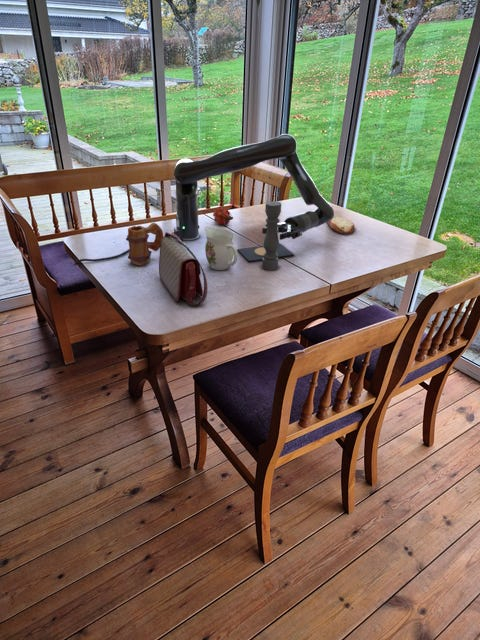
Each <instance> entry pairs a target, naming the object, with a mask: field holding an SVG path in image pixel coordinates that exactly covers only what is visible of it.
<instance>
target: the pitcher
mask: <svg viewBox="0 0 480 640" xmlns="http://www.w3.org/2000/svg"><path fill="white" fill-rule="evenodd" d="M204 229H205V231H206V232H205V238H206V242H205V249H204V252H205V257H206V260H207V263H208V265H209V267H211V269H213V270H216V271H225V270H227V269H229V267H233V266H235V265H236V264H237V263H238V257H239V252H238V251H237V249H238V248H236V245H234V241H233V239H234V233H233V232H232V231H231V230H227V229H225V228H216V227H211V226H206V227H204Z"/></svg>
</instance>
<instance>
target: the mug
mask: <svg viewBox="0 0 480 640" xmlns="http://www.w3.org/2000/svg"><path fill="white" fill-rule="evenodd" d="M150 234H152V235H155V237H154V241H152V242H153V243H148V242H149V241H148V240H149V237H150ZM162 237H164V231H163V229H162V227H161V226H160V225H159V224H158V223H156V222H151V223H150V224H149V225H148V226H146V227H145V226H142V225H137V226H136V225H132V226H131V227H130V226H129V227H128V228H127V235H126V237H125V241H127V242H128V250H129V249H130V251H129V252H128V253H129V254H128V256H127V259H128V260H130V263H131V264H133V265H137V266H144V265H146V264H148V263H149V262H150V261H151V257H152V251H154V252H158V251H159V250H160V243H161V238H162ZM151 250H152V251H151Z"/></svg>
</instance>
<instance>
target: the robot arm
mask: <svg viewBox="0 0 480 640" xmlns="http://www.w3.org/2000/svg"><path fill="white" fill-rule="evenodd" d="M297 147H298V143H297V140H296V138H295V137H294V136H293V135H291V134H288V133H283V134H280V135H277V136H275V137H272V138H270V139H269V138H268V139H267V140H264V141H261V142H254V143H250V144H249V143H248V144H244V145H240V146H234V147H231V148H227V149H224V150H222V151H219V152H217V153H215V154H213V155H211V156H209V157H207V158H204V159H199V160H194V161H193V160H192V159H190V158H182V159H180V160H178V162H177V163H176V164H175V166H174V169H173V178H174V180H175V205H176V206H175V208H176V215H175V225H176V226H175V227H173V231H172V232H173V233H174V234H175V235H176V236H178V237H179V238H180V240H181V241H194V240H195V241H196V240H197V239H199V238H200V233H199V232H200V231H199V229H200V225H199V201H198V200H199V199H198V193H199V192H198V188H199V187H198V181H199V182H200V181H202V180H204V179H208V178H211V177H217V176H223V175H227V174H231V173H237V172H240V171H243V170H247V169H249V168H251V167H254V166H257V165H258V164H261V163H263V162H266V161H271V160H277V159H278V160H279V161H280V162H281V163H282V165H283V166H284V168H285V169H286V171H287V172H288V174H289V175H290V177H291V179H292V181H293V183H294V185H295V186H296V187H295V188H296V189H297V190H298V193H299V194H300V196H301V198H302V200H303V202H304V204H305V205H306V206H315V207H316V208H315V209H314V210H308V211H305V212H301V213H297V214H295V215H291V216H288V217H286V219H284V221H283V222H279V223H278V225H277V234H279V233H280V234H279V240H282V241H283V240H285V239H292V240H295V239H297V238H299V237H302V236H303V233H306V232H307V231H309V230H311V229H313V228H317V227H320V226H322V225H325V224H326V223H327V222H328V221H330V220H332V219H333V217H334V216H335V211H334V209H333V206H332V205H331V204H330V203H329V201H327V200H326V199H325V198H324V196H322V195H321V193H320V191H319V189H318V188H317V186H316V184H315V182H314V180H313V179H312V177H311V176H310V174H309V173H308V172H307V170H306V168H305V167H304V165H303V164H302V162H301V160H300V157H299V156H298V153H297ZM266 232H267V222H266V223H265V227H262V231H261V234H263V235H266ZM153 242H154V241H148V243H153ZM127 253H130V249H129V248H128V249H127V250H125V251H123V252H121V253H119V254H116V255H113V256H107V257H101V258H81V259H78V260H76V261H75V262H74V264H73V266H77V265H78V264H79V263H80V262H81V263H82V262H101V261H107V260H112V259H117V258H120V257H122V256H124V255H126V254H127Z"/></svg>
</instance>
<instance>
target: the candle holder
mask: <svg viewBox="0 0 480 640" xmlns="http://www.w3.org/2000/svg"><path fill="white" fill-rule="evenodd" d="M264 209H265V211H264V212H265V215H266V218H265V222H266V223H267V232H266V234H264V239H263V242H262V243H263V244H262V246H264V249H265V251H266V252H265V254H264V255H263V257H264V258H263V260H261V261H262V263H261V267H262V269H263V270H266V271H276V270H278V268H279V258H278V254H277V253H276V251H277V249H278V248H279V244H280V242H279V240H280V238H279V233H277V230H278V227H277V225H278V223H280V221H281V220H280V219H279V218H280V215H281V213H282V203H281V201H275V200H274V201H273V200H272V201H271V200H270V201H266V202H265V208H264Z"/></svg>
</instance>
